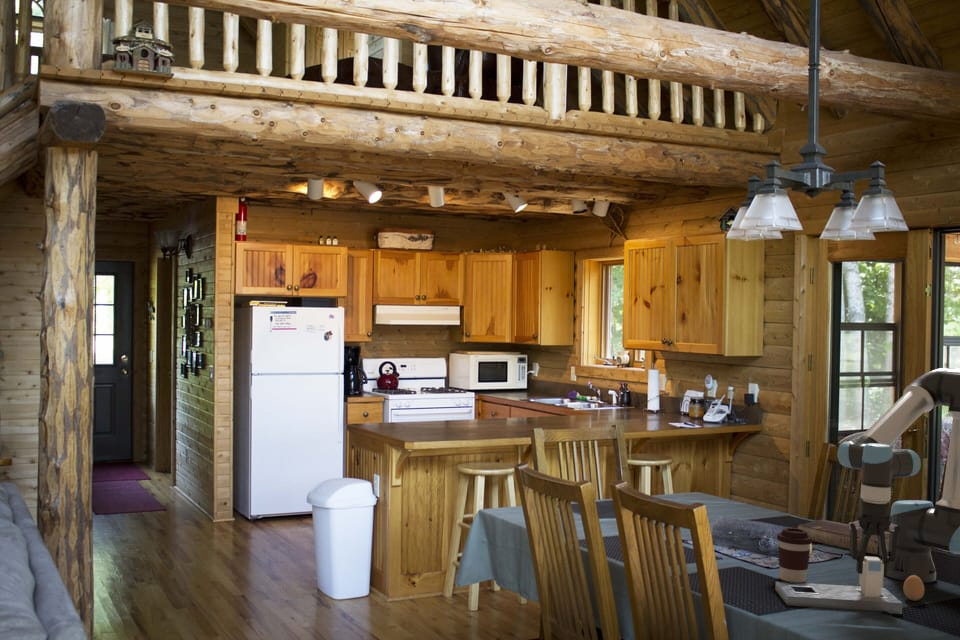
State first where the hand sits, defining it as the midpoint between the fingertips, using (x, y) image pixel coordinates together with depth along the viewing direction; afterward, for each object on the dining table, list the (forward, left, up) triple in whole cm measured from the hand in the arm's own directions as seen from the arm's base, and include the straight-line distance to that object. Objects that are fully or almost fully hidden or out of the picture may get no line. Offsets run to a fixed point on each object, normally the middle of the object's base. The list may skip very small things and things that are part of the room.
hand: (870, 585), depth 267 cm
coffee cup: (+16, -20, -5) cm, 26 cm away
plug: (0, 0, -4) cm, 4 cm away
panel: (+9, 0, -5) cm, 10 cm away
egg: (-14, -7, -6) cm, 17 cm away
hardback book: (-17, -75, -6) cm, 77 cm away
